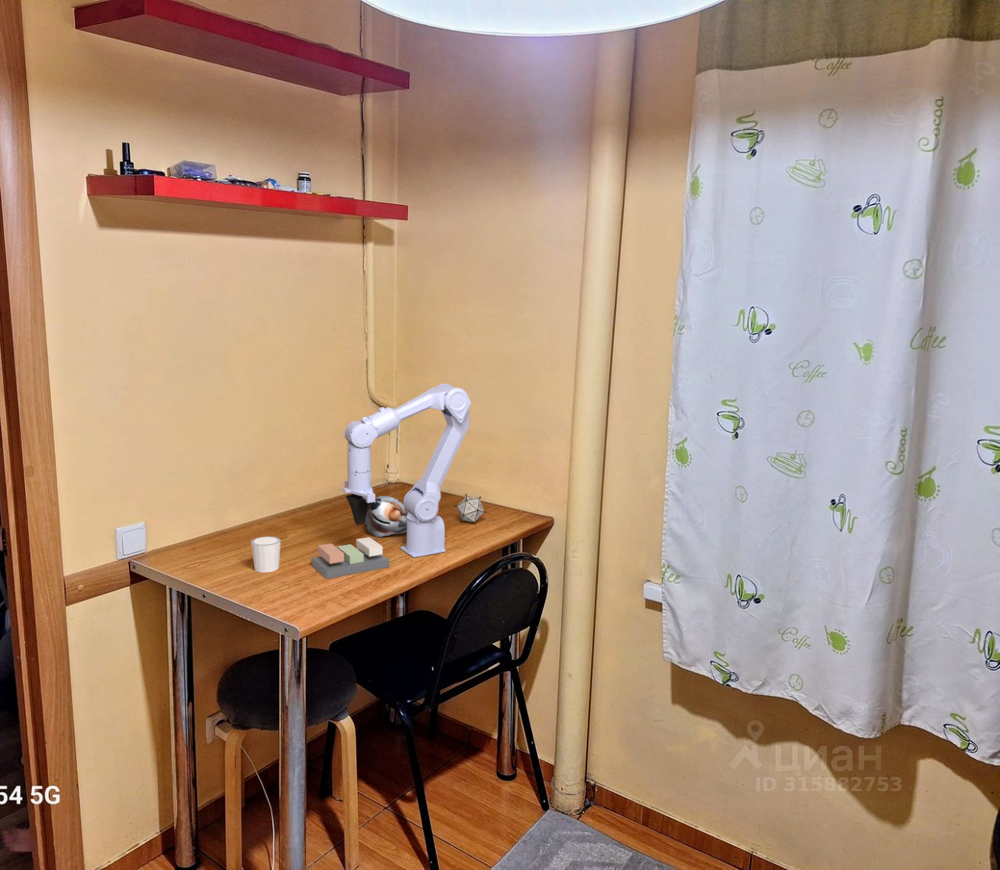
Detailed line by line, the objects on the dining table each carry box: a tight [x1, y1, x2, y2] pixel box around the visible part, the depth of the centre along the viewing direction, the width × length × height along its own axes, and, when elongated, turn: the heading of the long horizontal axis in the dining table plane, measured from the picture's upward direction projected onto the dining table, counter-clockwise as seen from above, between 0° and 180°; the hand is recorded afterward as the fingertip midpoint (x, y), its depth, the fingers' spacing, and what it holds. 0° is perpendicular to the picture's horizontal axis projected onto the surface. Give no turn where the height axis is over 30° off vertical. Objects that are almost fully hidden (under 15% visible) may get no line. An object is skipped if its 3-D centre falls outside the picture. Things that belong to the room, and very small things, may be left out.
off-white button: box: [355, 536, 384, 557], centre depth 196 cm, size 4×8×2 cm, turn 33°
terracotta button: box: [317, 543, 344, 564], centre depth 191 cm, size 4×8×2 cm, turn 33°
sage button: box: [336, 543, 364, 564], centre depth 194 cm, size 4×8×2 cm, turn 33°
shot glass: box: [250, 536, 282, 573], centre depth 191 cm, size 7×7×7 cm
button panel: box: [311, 549, 390, 580], centre depth 194 cm, size 16×10×2 cm, turn 123°
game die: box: [453, 493, 488, 526], centre depth 231 cm, size 9×8×10 cm
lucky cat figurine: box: [363, 495, 408, 538], centre depth 218 cm, size 15×12×14 cm
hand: (359, 523), depth 197 cm, fingers closed
